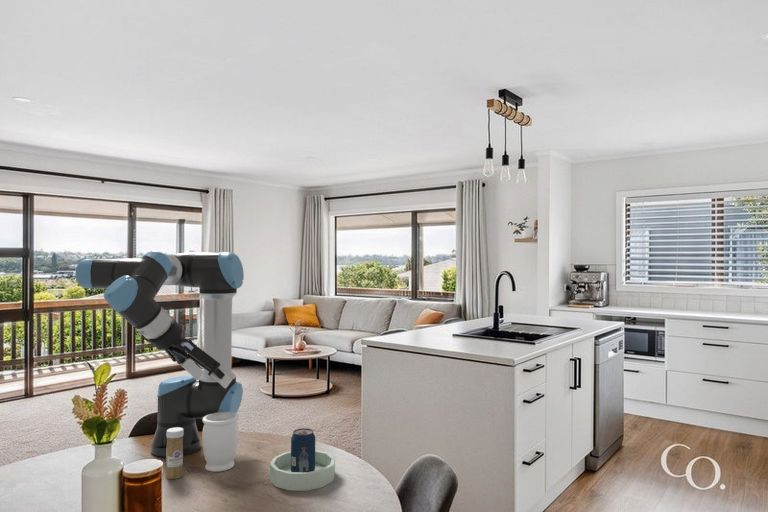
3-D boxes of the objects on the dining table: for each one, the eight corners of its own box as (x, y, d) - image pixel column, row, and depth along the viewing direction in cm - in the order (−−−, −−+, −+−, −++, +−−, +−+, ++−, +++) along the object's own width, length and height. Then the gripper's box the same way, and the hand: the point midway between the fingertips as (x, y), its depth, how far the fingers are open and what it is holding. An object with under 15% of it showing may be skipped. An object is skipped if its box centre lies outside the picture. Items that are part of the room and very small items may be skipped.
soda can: (305, 466, 154) (305, 426, 154) (319, 473, 149) (320, 431, 149) (285, 473, 149) (286, 431, 149) (300, 480, 144) (300, 437, 144)
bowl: (262, 471, 152) (262, 456, 152) (319, 460, 161) (319, 446, 161) (283, 495, 136) (283, 478, 137) (345, 482, 146) (345, 465, 146)
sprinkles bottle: (171, 481, 145) (172, 432, 145) (162, 477, 148) (163, 429, 148) (186, 475, 149) (186, 428, 149) (177, 471, 151) (177, 425, 151)
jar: (226, 475, 149) (227, 423, 150) (194, 472, 151) (195, 420, 152) (244, 461, 160) (244, 412, 160) (213, 458, 162) (214, 410, 162)
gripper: (126, 335, 133) (180, 383, 144) (175, 346, 117) (231, 400, 128) (147, 313, 137) (198, 361, 149) (197, 321, 121) (250, 375, 132)
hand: (213, 379), depth 138 cm, fingers open, 13 cm apart
